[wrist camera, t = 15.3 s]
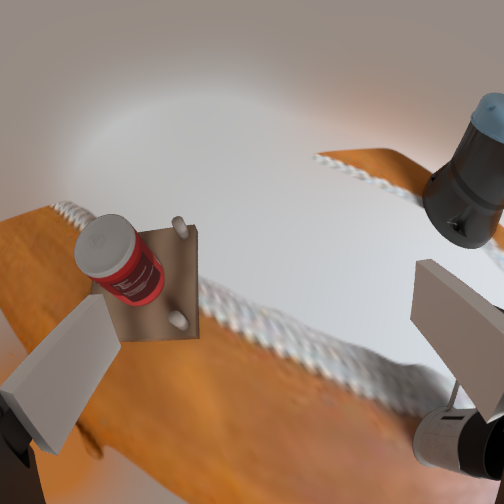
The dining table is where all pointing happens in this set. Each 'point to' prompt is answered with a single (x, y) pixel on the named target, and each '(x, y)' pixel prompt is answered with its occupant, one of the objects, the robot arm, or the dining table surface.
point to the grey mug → (461, 441)
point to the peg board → (163, 290)
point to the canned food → (119, 260)
